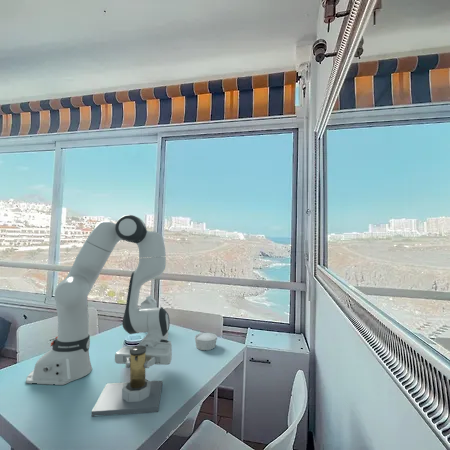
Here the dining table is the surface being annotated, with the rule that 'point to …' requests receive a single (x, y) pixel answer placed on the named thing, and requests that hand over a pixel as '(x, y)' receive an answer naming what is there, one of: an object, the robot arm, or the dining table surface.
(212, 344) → the ramekin
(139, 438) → the dining table surface
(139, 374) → the cylinder
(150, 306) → the milk carton
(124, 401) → the socket base
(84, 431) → the dining table surface
